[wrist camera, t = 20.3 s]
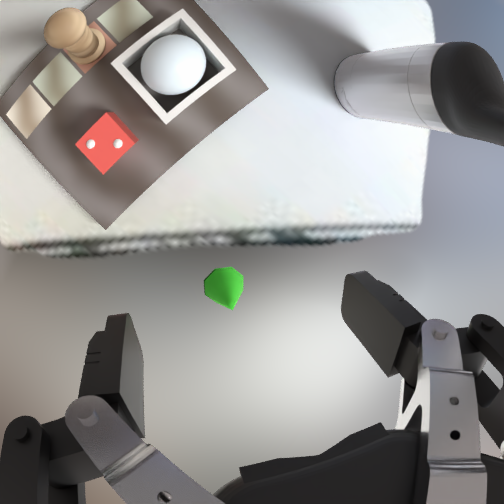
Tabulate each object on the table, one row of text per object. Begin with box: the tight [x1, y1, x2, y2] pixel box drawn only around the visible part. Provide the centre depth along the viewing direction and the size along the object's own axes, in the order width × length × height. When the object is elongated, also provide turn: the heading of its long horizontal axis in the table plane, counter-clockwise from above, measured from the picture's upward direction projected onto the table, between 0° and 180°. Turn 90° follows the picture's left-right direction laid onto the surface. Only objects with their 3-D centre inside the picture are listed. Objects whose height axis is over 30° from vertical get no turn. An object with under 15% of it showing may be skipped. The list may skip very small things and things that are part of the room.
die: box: [75, 112, 139, 175], centre depth 28 cm, size 4×4×4 cm
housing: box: [111, 9, 236, 124], centre depth 27 cm, size 9×9×4 cm
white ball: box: [141, 34, 206, 95], centre depth 26 cm, size 6×6×6 cm
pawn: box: [44, 8, 106, 65], centre depth 20 cm, size 4×4×11 cm
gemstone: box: [204, 267, 243, 310], centre depth 41 cm, size 6×6×6 cm
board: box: [0, 0, 269, 230], centre depth 29 cm, size 25×22×2 cm
